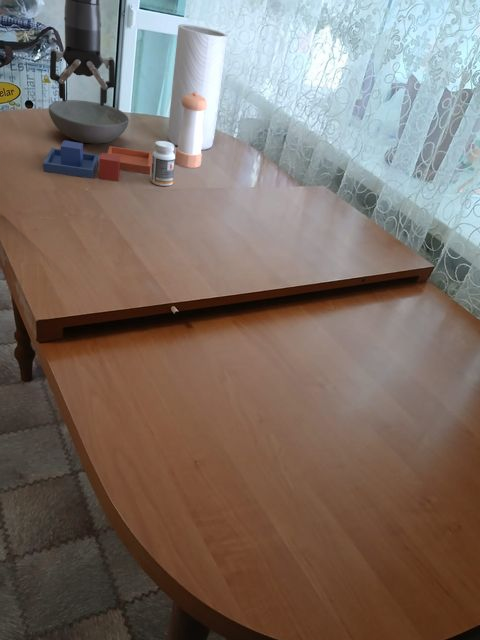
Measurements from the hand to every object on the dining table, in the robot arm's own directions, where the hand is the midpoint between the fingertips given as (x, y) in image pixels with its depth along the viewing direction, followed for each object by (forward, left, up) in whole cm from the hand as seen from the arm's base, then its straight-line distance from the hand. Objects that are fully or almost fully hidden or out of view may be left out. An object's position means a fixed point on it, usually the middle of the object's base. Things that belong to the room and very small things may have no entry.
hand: (83, 102), depth 128 cm
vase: (+28, +36, -16) cm, 48 cm away
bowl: (-1, +24, -16) cm, 29 cm away
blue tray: (-3, +1, -16) cm, 16 cm away
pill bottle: (+20, -1, -16) cm, 26 cm away
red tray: (+11, +9, -16) cm, 21 cm away
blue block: (-3, +1, -15) cm, 16 cm away
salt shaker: (+27, +17, -16) cm, 35 cm away
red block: (+7, -2, -16) cm, 18 cm away
